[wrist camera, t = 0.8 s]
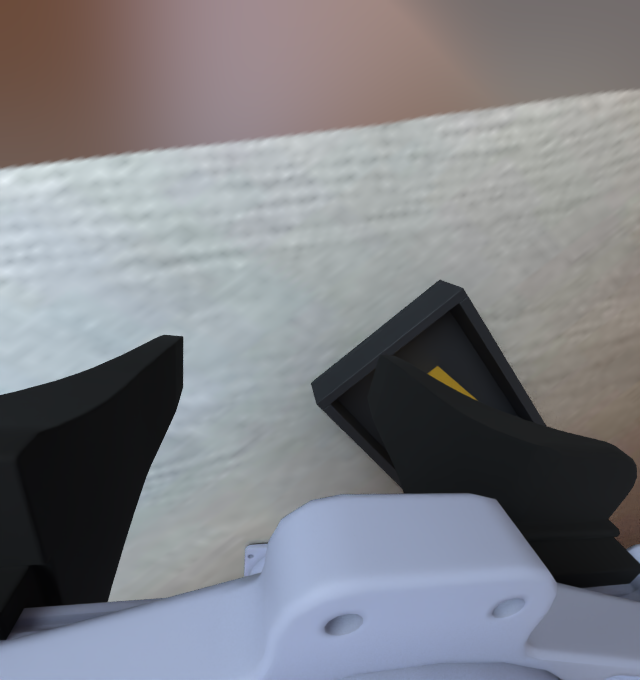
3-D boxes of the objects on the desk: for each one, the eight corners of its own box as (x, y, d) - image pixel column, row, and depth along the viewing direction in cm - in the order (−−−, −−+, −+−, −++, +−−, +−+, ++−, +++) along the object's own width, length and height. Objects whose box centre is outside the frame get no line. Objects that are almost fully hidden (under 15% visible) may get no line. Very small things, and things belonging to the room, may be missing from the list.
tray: (523, 411, 28) (550, 432, 25) (415, 489, 29) (430, 516, 27) (439, 279, 22) (463, 287, 20) (310, 383, 24) (316, 404, 21)
